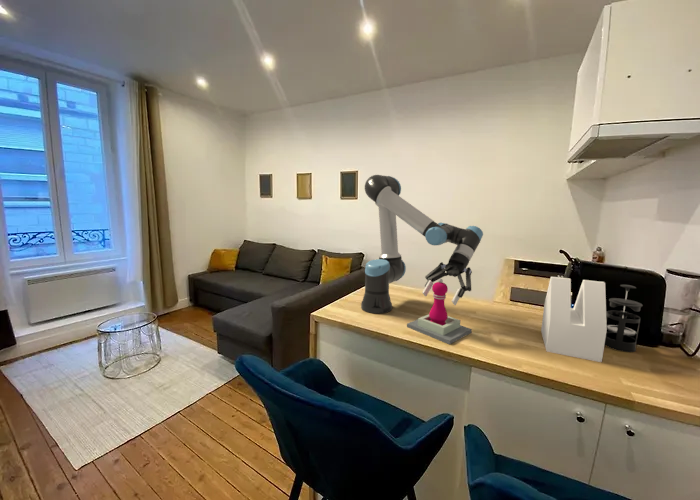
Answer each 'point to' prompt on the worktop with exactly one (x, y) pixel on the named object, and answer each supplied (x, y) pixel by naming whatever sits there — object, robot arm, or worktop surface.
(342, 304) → the worktop surface
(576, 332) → the white notched cradle block
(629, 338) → the french press
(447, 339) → the socket board
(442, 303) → the pepper mill
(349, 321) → the worktop surface
